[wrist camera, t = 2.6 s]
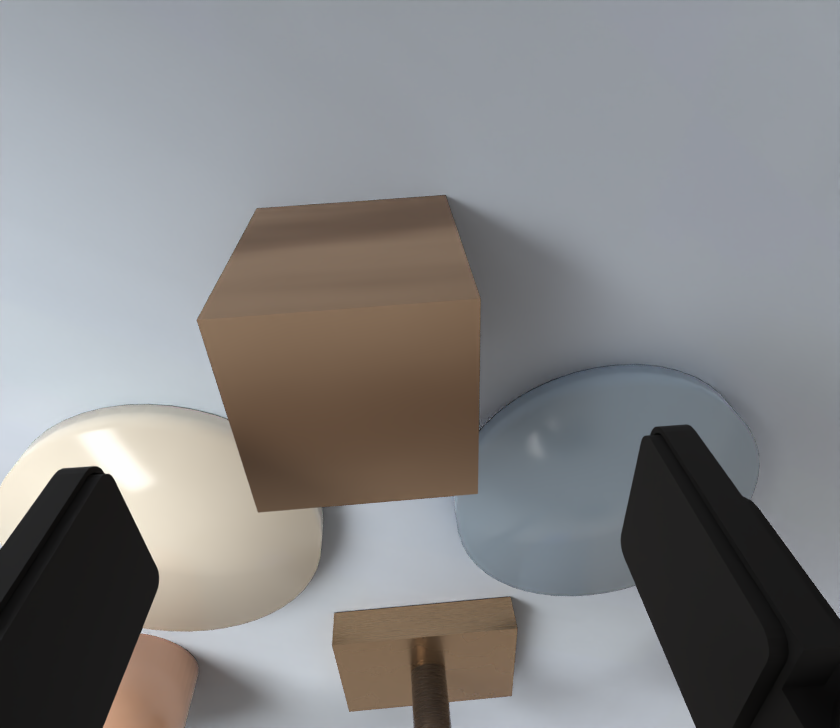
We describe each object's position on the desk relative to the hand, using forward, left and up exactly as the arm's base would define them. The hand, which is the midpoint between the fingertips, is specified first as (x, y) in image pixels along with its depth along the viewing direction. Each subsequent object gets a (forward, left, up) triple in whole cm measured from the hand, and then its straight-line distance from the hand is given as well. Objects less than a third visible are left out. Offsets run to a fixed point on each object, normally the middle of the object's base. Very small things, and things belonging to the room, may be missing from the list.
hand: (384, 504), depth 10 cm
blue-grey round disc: (+8, +7, -8) cm, 14 cm away
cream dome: (+8, -9, -8) cm, 14 cm away
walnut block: (-1, -1, -8) cm, 8 cm away
